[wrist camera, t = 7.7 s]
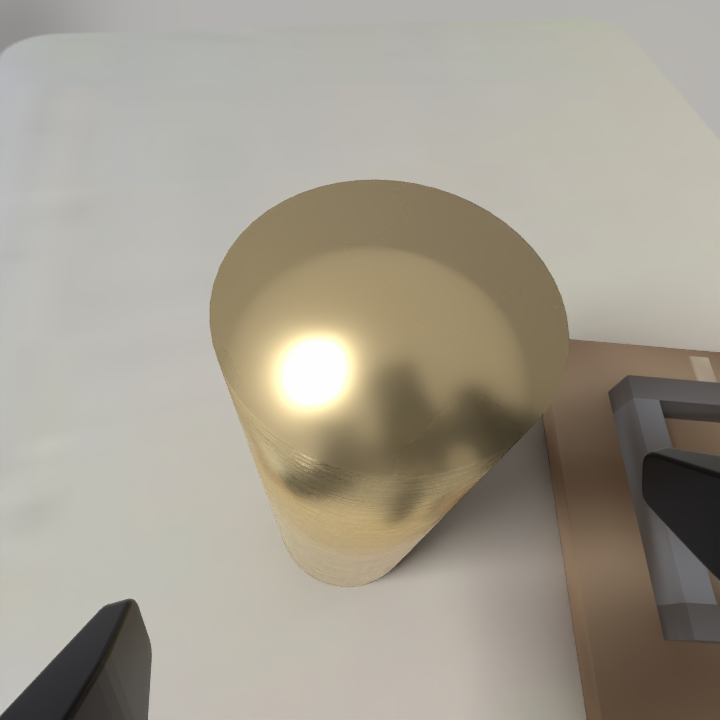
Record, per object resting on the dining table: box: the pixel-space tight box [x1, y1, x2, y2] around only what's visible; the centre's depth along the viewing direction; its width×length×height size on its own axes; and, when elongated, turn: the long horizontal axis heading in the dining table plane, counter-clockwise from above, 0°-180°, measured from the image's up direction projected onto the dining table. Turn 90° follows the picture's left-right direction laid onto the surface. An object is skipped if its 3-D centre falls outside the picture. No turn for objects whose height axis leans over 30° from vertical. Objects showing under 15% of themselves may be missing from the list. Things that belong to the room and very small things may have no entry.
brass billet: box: [210, 180, 569, 587], centre depth 12 cm, size 5×5×13 cm
